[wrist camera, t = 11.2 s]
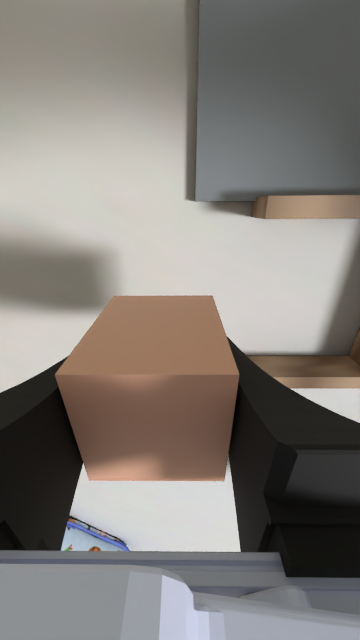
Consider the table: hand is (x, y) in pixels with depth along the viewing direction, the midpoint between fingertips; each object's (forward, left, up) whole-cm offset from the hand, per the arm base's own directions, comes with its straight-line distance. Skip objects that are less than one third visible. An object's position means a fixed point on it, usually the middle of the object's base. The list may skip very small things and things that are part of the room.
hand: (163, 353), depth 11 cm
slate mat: (-8, -12, -8) cm, 16 cm away
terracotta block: (0, 0, -2) cm, 2 cm away
